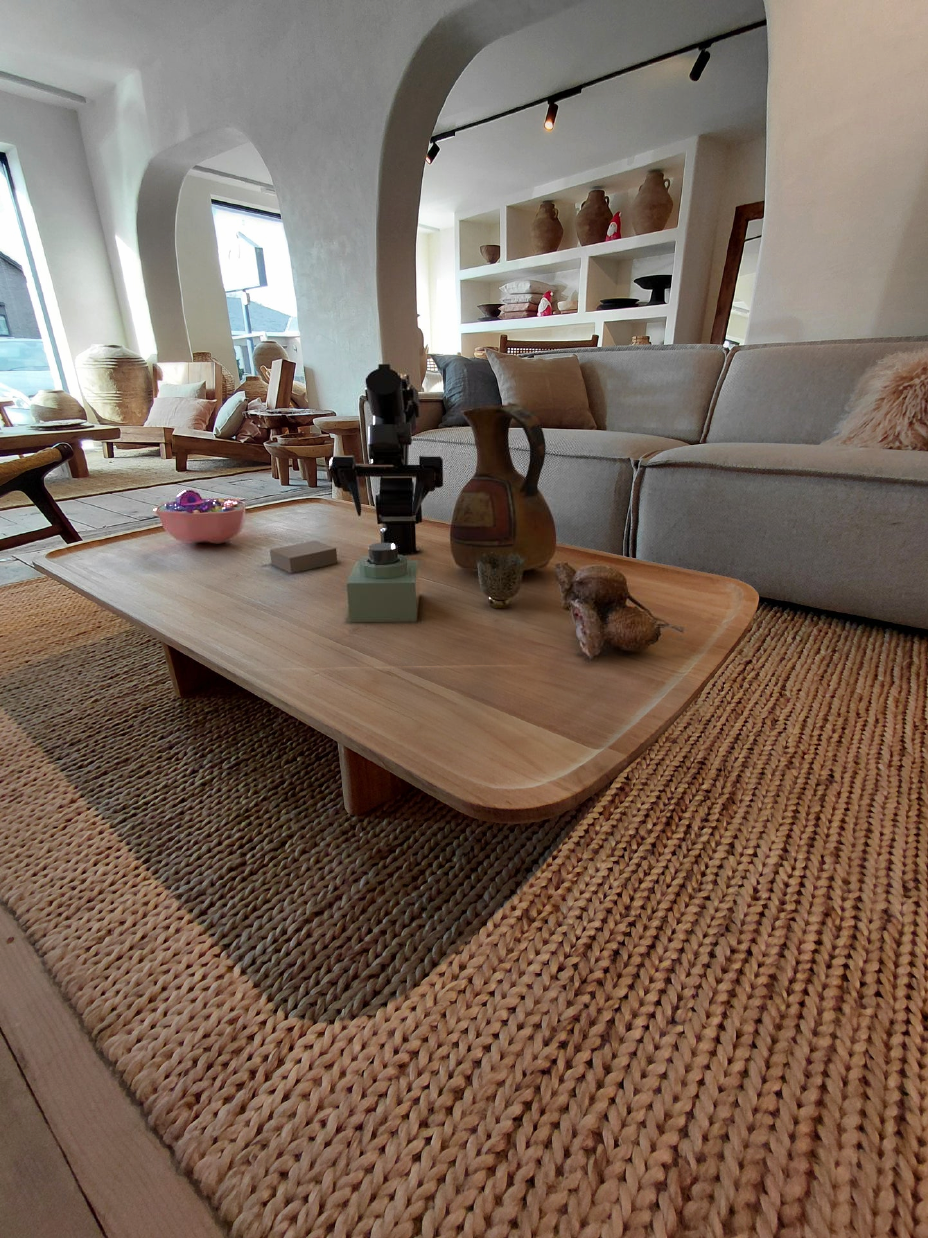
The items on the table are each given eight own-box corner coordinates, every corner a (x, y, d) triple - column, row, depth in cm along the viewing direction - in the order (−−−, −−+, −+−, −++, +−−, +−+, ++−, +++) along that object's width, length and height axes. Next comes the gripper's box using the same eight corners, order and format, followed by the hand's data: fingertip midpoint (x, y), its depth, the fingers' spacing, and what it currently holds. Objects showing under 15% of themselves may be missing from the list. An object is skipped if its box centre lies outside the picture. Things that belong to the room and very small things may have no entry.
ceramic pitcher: (485, 549, 123) (488, 399, 111) (572, 566, 112) (585, 401, 100) (428, 572, 108) (424, 402, 96) (521, 594, 97) (530, 405, 86)
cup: (527, 600, 94) (529, 553, 91) (516, 617, 88) (518, 566, 85) (484, 595, 97) (484, 549, 93) (470, 611, 90) (470, 561, 87)
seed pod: (578, 567, 89) (528, 559, 77) (685, 563, 79) (647, 553, 67) (576, 653, 89) (526, 657, 77) (683, 659, 79) (645, 665, 67)
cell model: (211, 558, 117) (201, 502, 112) (144, 546, 125) (132, 493, 120) (270, 538, 131) (264, 488, 126) (206, 529, 139) (198, 481, 134)
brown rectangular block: (316, 554, 119) (315, 540, 118) (337, 562, 114) (336, 548, 113) (271, 564, 113) (269, 549, 112) (291, 573, 107) (289, 558, 106)
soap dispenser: (359, 596, 96) (355, 550, 93) (419, 596, 96) (417, 549, 93) (349, 622, 86) (345, 571, 83) (416, 621, 86) (414, 570, 83)
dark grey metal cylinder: (371, 558, 90) (370, 542, 89) (399, 558, 90) (398, 542, 89) (367, 567, 86) (366, 550, 85) (397, 566, 86) (396, 550, 85)
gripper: (325, 404, 92) (318, 485, 87) (442, 404, 93) (442, 485, 87) (338, 449, 103) (332, 524, 97) (442, 449, 103) (443, 524, 97)
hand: (386, 514), depth 94 cm, fingers open, 9 cm apart
